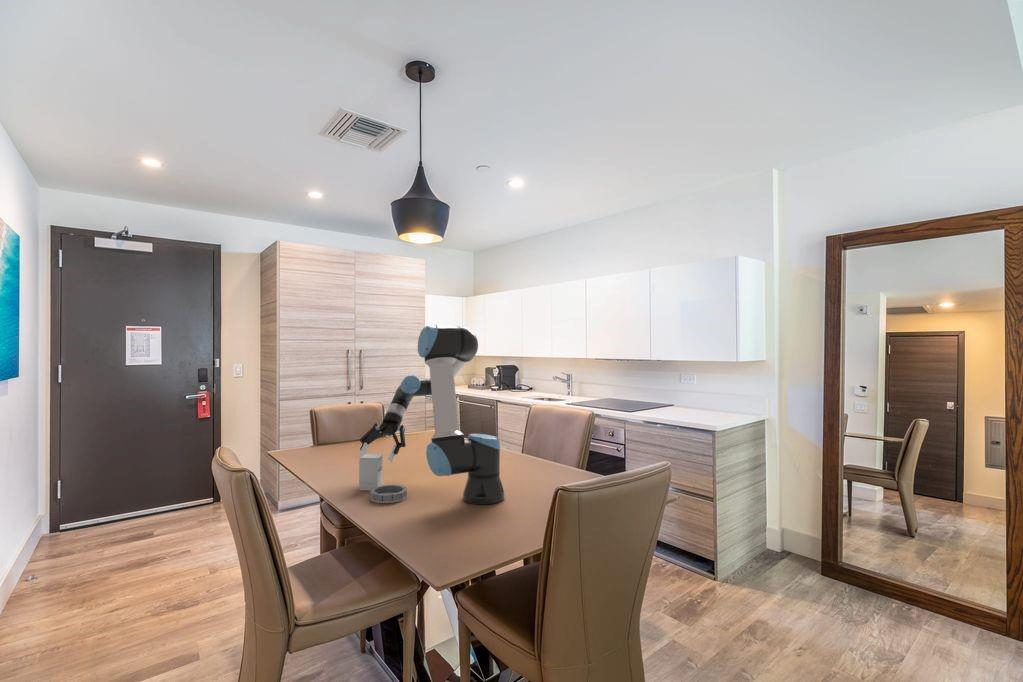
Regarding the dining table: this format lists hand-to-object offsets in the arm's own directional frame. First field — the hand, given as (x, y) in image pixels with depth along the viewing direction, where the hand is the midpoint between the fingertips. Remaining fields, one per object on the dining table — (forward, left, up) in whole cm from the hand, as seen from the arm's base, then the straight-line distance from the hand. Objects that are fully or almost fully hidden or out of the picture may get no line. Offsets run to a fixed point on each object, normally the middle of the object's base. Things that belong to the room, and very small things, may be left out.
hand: (375, 459), depth 192 cm
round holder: (-19, +3, -10) cm, 22 cm away
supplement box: (-3, +3, -10) cm, 11 cm away
